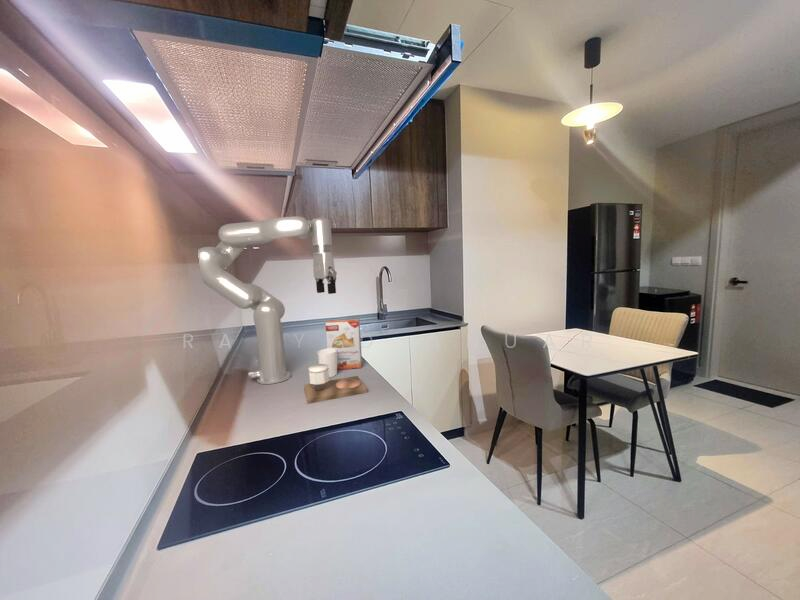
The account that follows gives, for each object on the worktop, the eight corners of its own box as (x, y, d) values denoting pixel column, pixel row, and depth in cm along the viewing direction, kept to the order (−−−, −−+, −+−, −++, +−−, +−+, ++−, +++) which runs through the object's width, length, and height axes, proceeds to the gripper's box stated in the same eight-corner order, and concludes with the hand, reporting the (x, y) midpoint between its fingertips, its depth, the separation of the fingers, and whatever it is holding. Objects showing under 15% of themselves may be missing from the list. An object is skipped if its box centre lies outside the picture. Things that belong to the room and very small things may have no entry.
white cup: (332, 379, 126) (330, 354, 125) (315, 377, 128) (313, 353, 127) (342, 372, 133) (340, 348, 132) (325, 371, 136) (324, 348, 135)
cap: (310, 385, 107) (309, 371, 107) (308, 379, 114) (307, 365, 113) (330, 382, 110) (329, 368, 109) (327, 376, 116) (326, 363, 115)
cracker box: (328, 370, 136) (324, 322, 134) (330, 366, 142) (327, 319, 140) (361, 368, 136) (358, 320, 134) (362, 364, 142) (359, 318, 140)
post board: (307, 403, 104) (305, 378, 103) (304, 388, 117) (302, 366, 116) (366, 392, 111) (365, 368, 110) (357, 379, 124) (356, 358, 123)
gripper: (304, 251, 131) (308, 293, 133) (324, 248, 118) (327, 294, 120) (321, 251, 136) (324, 291, 138) (342, 248, 123) (345, 292, 125)
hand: (326, 293), depth 129 cm, fingers open, 9 cm apart
